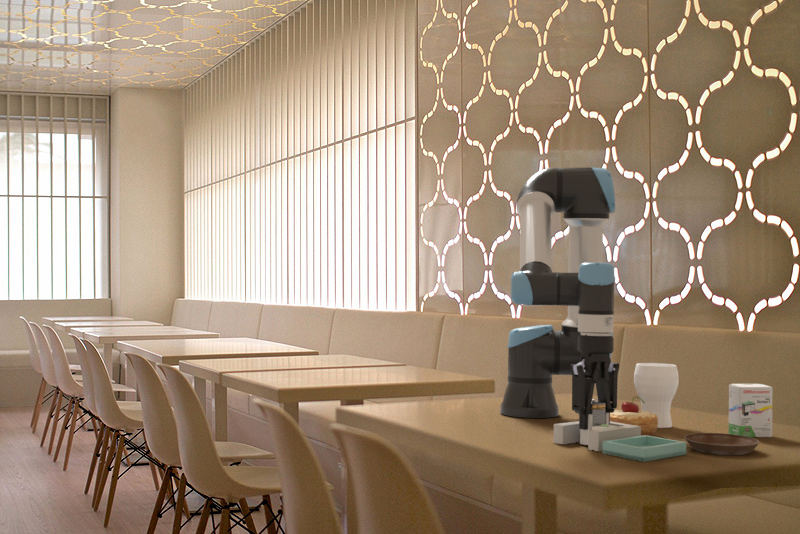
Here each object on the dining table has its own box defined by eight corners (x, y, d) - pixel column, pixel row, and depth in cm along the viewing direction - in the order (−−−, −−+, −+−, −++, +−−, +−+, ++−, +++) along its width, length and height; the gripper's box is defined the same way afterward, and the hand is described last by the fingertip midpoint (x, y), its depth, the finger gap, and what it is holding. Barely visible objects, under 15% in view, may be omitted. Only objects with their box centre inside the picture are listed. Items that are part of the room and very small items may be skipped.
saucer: (719, 460, 178) (719, 446, 178) (669, 447, 191) (669, 434, 191) (775, 455, 184) (775, 442, 184) (722, 443, 197) (722, 431, 197)
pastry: (594, 434, 209) (593, 395, 209) (635, 430, 213) (634, 393, 214) (626, 441, 198) (625, 400, 198) (669, 437, 202) (668, 397, 203)
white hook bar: (553, 442, 193) (553, 418, 193) (595, 436, 201) (596, 414, 201) (598, 451, 183) (598, 426, 183) (640, 445, 192) (641, 421, 192)
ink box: (739, 437, 204) (740, 386, 204) (727, 434, 209) (728, 383, 209) (773, 437, 206) (773, 385, 206) (760, 433, 211) (761, 383, 211)
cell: (578, 444, 192) (579, 399, 192) (592, 442, 195) (593, 397, 195) (595, 447, 188) (596, 401, 188) (609, 445, 191) (610, 400, 191)
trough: (602, 453, 181) (602, 441, 181) (645, 446, 189) (645, 435, 190) (643, 461, 173) (643, 448, 173) (686, 454, 182) (686, 442, 182)
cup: (680, 430, 213) (681, 367, 214) (634, 428, 215) (635, 365, 216) (675, 423, 224) (676, 363, 224) (632, 421, 226) (632, 362, 226)
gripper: (582, 335, 184) (580, 450, 183) (635, 334, 194) (634, 442, 194) (554, 334, 189) (552, 444, 189) (608, 333, 200) (606, 437, 200)
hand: (594, 443), depth 191 cm, fingers closed on cell, 5 cm apart
